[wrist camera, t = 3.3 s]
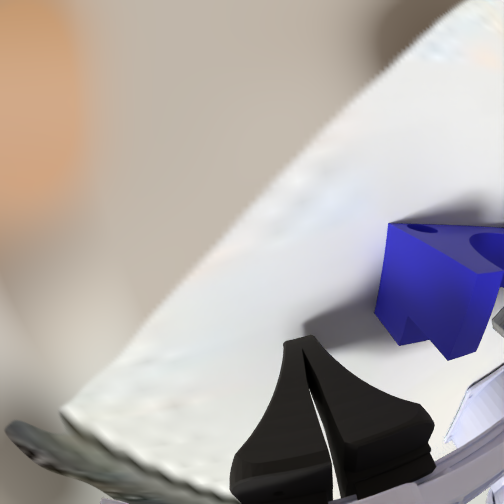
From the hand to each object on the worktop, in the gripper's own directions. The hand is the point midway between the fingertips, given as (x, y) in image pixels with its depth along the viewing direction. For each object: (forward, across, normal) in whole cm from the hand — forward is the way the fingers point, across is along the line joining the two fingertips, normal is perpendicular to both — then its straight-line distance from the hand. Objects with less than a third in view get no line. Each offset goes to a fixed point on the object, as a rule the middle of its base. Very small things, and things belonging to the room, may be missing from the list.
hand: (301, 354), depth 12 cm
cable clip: (+1, -10, -1) cm, 11 cm away
